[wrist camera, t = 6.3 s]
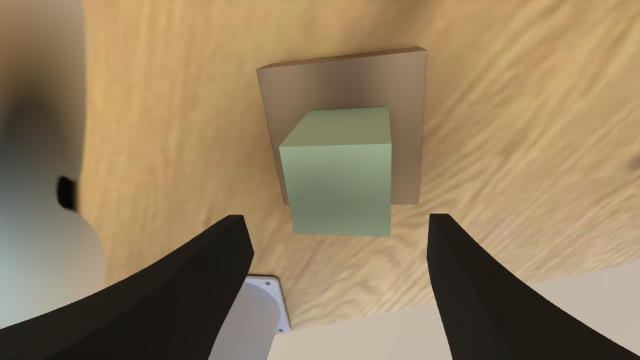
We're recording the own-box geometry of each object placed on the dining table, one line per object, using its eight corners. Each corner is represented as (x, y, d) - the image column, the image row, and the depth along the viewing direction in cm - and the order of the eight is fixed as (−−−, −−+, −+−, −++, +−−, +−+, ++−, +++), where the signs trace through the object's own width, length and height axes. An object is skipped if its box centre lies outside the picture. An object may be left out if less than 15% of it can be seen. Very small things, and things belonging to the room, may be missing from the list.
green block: (316, 179, 18) (294, 233, 14) (308, 111, 16) (278, 146, 12) (387, 179, 18) (390, 237, 13) (388, 106, 15) (391, 143, 11)
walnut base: (294, 184, 22) (284, 205, 20) (272, 63, 18) (256, 69, 16) (413, 181, 21) (418, 204, 18) (418, 46, 17) (426, 50, 14)
